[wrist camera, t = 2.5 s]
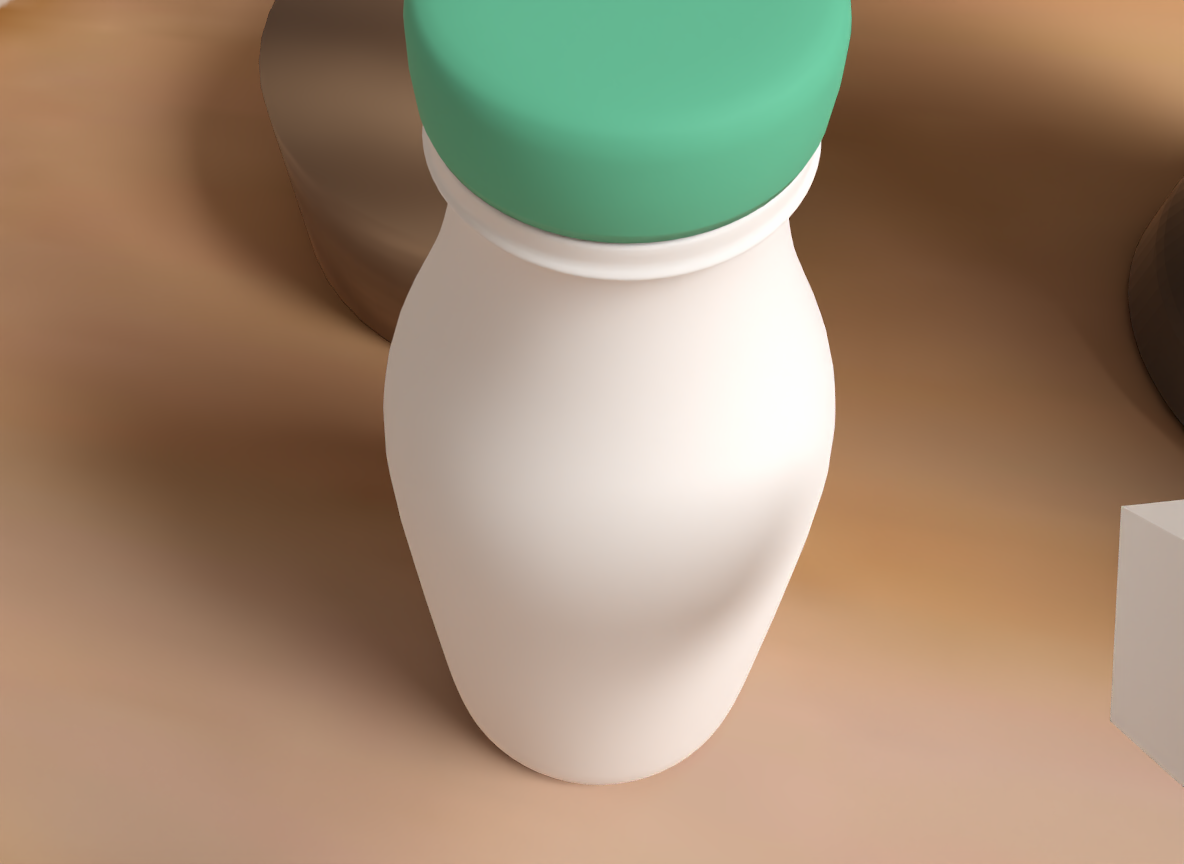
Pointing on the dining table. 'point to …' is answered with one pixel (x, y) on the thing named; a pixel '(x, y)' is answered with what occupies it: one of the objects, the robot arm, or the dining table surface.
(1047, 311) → the dining table surface
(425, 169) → the walnut stand
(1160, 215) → the robot arm
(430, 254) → the milk bottle
